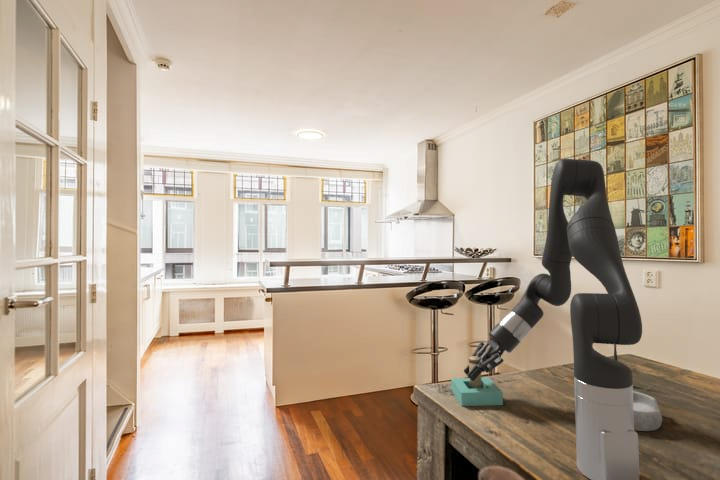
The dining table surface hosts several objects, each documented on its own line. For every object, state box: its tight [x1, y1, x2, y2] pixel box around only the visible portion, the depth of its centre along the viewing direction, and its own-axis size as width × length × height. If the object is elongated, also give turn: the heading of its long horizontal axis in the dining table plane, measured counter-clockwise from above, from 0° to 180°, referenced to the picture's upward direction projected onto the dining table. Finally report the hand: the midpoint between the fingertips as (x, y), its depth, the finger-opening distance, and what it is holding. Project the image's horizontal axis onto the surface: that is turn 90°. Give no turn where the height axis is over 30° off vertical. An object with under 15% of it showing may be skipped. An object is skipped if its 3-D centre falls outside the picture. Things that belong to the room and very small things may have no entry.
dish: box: [633, 391, 663, 432], centre depth 91 cm, size 14×14×5 cm
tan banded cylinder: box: [468, 355, 482, 389], centre depth 106 cm, size 3×3×9 cm
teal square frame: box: [450, 376, 504, 407], centre depth 106 cm, size 11×11×4 cm
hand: (468, 375), depth 106 cm, fingers closed on tan banded cylinder, 3 cm apart
